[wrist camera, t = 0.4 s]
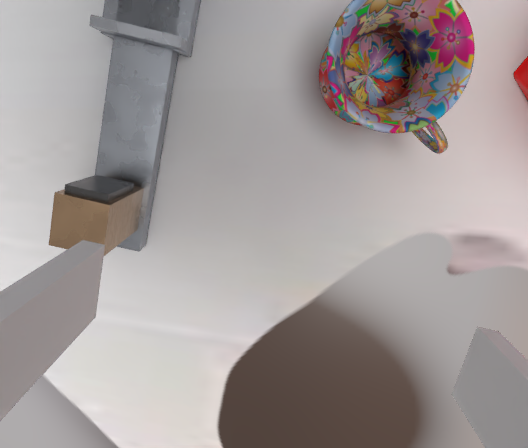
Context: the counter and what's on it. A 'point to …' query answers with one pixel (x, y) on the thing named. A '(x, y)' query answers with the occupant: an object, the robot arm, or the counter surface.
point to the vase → (522, 77)
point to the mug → (398, 65)
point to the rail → (128, 125)
